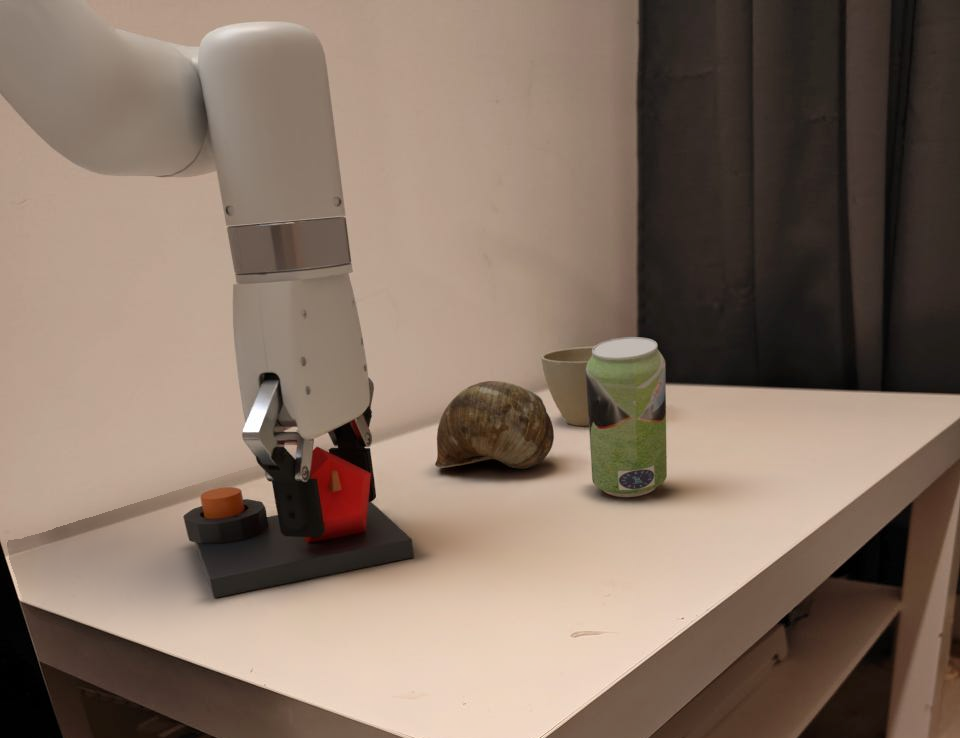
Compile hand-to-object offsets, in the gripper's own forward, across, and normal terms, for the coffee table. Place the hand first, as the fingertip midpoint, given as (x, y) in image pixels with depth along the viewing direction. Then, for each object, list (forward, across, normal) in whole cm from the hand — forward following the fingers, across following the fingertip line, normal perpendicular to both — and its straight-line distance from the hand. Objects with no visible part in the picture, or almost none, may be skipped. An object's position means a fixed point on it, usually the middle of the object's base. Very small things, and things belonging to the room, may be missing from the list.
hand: (331, 515), depth 67 cm
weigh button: (0, 0, -9) cm, 9 cm away
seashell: (+3, -23, +4) cm, 24 cm away
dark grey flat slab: (+3, 0, -3) cm, 4 cm away
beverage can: (+3, -16, +18) cm, 25 cm away
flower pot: (+3, -43, +9) cm, 44 cm away
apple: (+2, 0, 0) cm, 2 cm away
